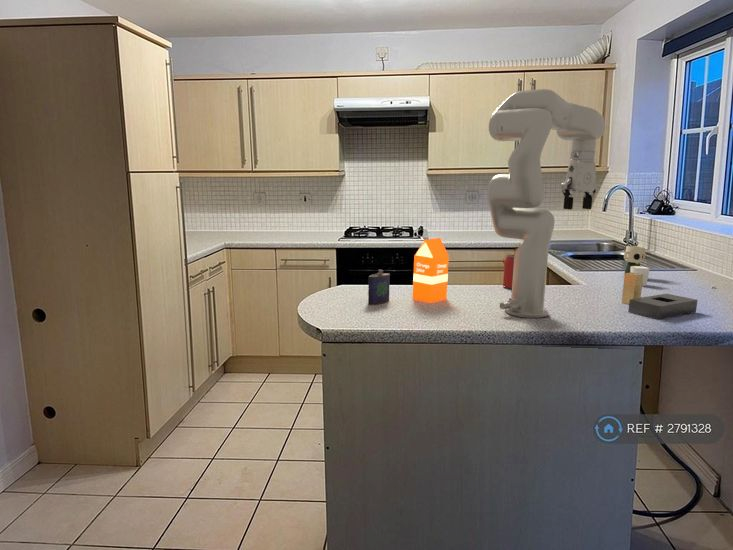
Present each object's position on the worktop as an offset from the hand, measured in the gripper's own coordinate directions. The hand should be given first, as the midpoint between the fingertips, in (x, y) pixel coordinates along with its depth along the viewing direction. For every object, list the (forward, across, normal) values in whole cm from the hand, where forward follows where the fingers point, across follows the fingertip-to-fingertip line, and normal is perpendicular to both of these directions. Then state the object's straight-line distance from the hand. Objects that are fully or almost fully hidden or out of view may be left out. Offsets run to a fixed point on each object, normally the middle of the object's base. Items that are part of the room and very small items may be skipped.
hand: (577, 209), depth 185 cm
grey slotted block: (+30, +9, -28) cm, 42 cm away
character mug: (+31, +58, +14) cm, 67 cm away
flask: (+31, -65, +21) cm, 75 cm away
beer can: (+31, -7, +20) cm, 37 cm away
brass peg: (+30, +11, -16) cm, 36 cm away
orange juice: (+31, -47, +18) cm, 59 cm away
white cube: (+31, +45, +3) cm, 54 cm away
